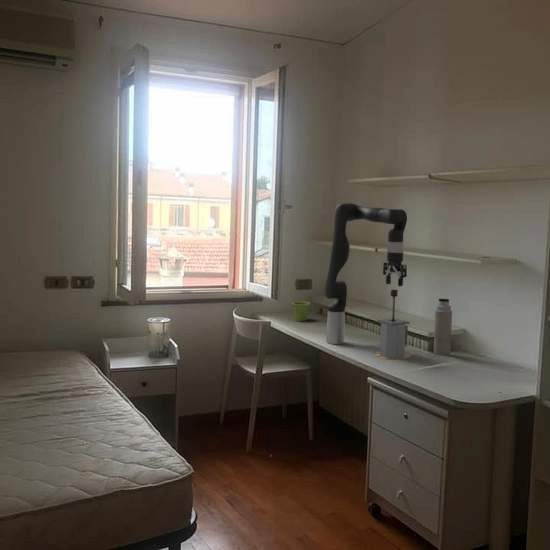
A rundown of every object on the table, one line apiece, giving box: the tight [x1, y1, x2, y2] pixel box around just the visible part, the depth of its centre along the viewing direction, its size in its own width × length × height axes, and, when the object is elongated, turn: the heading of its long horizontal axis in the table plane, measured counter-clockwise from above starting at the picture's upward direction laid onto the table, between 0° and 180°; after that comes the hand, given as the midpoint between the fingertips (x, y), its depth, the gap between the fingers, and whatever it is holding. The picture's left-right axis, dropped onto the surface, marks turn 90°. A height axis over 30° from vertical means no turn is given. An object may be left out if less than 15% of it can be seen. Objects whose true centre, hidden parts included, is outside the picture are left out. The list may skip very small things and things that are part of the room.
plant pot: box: [291, 301, 310, 322], centre depth 397 cm, size 12×12×11 cm
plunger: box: [390, 289, 399, 321], centre depth 297 cm, size 8×8×19 cm
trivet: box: [373, 351, 412, 361], centre depth 300 cm, size 18×18×1 cm
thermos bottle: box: [433, 298, 453, 357], centre depth 304 cm, size 8×8×28 cm
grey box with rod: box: [376, 317, 411, 358], centre depth 300 cm, size 11×14×17 cm
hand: (394, 285), depth 296 cm, fingers open, 8 cm apart
